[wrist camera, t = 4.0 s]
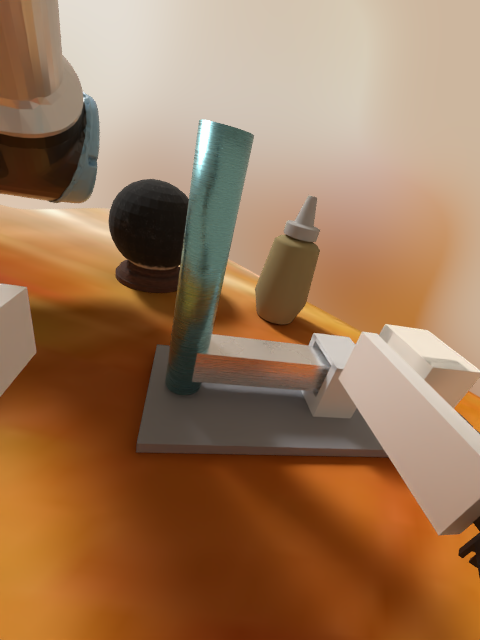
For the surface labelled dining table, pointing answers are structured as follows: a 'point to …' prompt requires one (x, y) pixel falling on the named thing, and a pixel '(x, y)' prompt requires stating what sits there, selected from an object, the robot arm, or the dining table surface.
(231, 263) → the dining table surface
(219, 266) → the tube
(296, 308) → the squeeze bottle
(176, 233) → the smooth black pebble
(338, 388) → the socket
